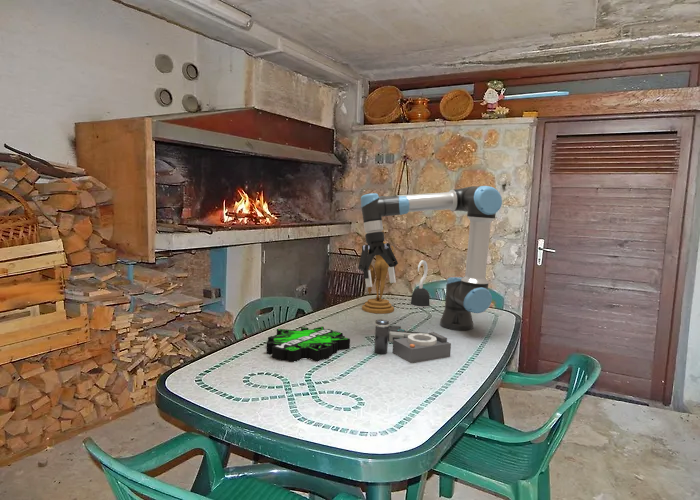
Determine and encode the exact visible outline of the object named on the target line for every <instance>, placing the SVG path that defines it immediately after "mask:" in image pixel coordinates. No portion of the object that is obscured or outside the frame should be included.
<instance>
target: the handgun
mask: <svg viewBox="0 0 700 500" xmlns="http://www.w3.org/2000/svg"><path fill="white" fill-rule="evenodd" d="M416 333H419V334H428V335H429V333H430V332H420V331H410V330H409V331H408V330H406V329H403V328H402V327H401V326H395V325H389V331H388V343H393V340H394V339H401V338H408V335H410V334H416Z"/></svg>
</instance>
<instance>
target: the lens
mask: <svg viewBox="0 0 700 500" xmlns="http://www.w3.org/2000/svg"><path fill="white" fill-rule="evenodd" d="M374 325H375V329H374V347H373V348H374V351H373V352H374V353H375V354H377V355H386V354H388V347H389V346H388V345H389V341H388V331H389V326H390V321H389V320H387V319H376V320H375V323H374Z"/></svg>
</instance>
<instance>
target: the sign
mask: <svg viewBox="0 0 700 500" xmlns="http://www.w3.org/2000/svg"><path fill="white" fill-rule="evenodd" d="M350 343H351V338H350V337H345V335H344V333H343V332H340V331H334V330H332V329H330V328H324V326H318V327H314V328H311V329H309V327H304V326H302V327H300V330H294V329H293V330H292V329H285V328H276V334H275V335H271V336H268V337H267V342H266V351H265V352H266V355H271V358H272V359H273V360H279V361H283V362H284V361H287V362H289V363H295V362H294V361H296V362H298V361H301V360H302V359H301V358H307V359H309V358H310V360H311V359H312V360H311V361H313V362H316V361H317V363H319V362H320V361H323V360H324V359H325V360H327V359H328V360H329V359H330V357H332V356H333V355H335V354H337V353H338V351H344V350H346V351H347V350H350V349H351V348H350V346H351V345H350ZM300 359H301V360H300ZM297 360H298V361H297ZM318 361H319V362H318Z"/></svg>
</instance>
